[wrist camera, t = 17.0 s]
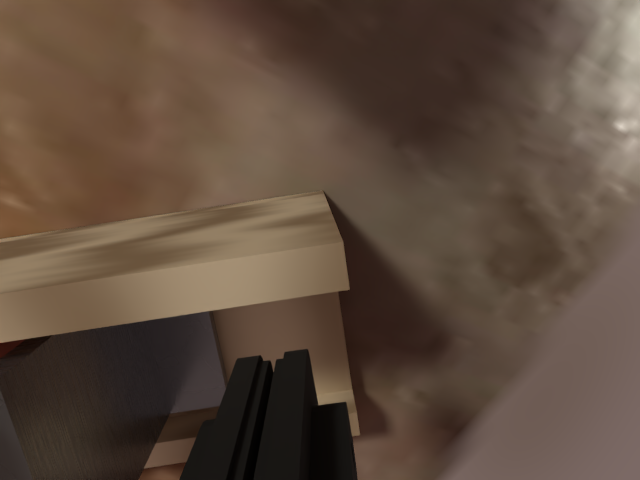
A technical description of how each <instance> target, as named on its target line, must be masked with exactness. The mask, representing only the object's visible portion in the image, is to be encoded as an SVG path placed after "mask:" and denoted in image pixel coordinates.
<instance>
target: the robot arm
mask: <svg viewBox="0 0 640 480" xmlns="http://www.w3.org/2000/svg"><path fill="white" fill-rule="evenodd" d="M180 480H357V471H356V462H355V454H354V447H353V440H352V433H351V426H350V420H349V414H348V408H347V403H346V402H339V403H332V404H324V405H318V400H317V394H316V388H315V383H314V377H313V372H312V366H311V360H310V355H309V351H308V349H302V350H294V351H287V352H284V357H283V358H282V359H276V363H275V368H274V372H273V367H272V363H271V361H270V360H267V361H263V358H262V356H261V355H258V356H251V357H244V358H238V359H237V360H236V362H235V365H234V368H233V370H232V373H231V376H230V379H229V382H228V384H227V387H226V390H225V393H224V396H223V398H222V401H221V404H220V407H219V409H218V412H217V415H216V418H215V419H211V420H206V421H204V422H203V423H202V425H201V427H200V429H199V432H198V434H197V437H196V439H195V442H194V444H193V447H192V449H191V452H190V454H189V457H188V460H187V462H186V465H185V467H184V470H183V472H182V475H181V477H180Z"/></svg>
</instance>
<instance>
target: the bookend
mask: <svg viewBox="0 0 640 480" xmlns="http://www.w3.org/2000/svg"><path fill="white" fill-rule="evenodd" d="M227 384H228V379H227V375H226V370H225V366H224V361H223V357H222V352H221V348H220V343H219V338H218V334H217V329H216V325H215V320H214V316H213V311H206V312H200V313H193V314H187V315H180V316H173V317H167V318H160V319H154V320H147V321H141V322H134V323H128V324H121V325H114V326H108V327H101V328H95V329H88V330H82V331H75V332H69V333H62V334H55V335H49V336H42V337H36V338H29V339H26V340H25V341H23V342H22V343H21V344H19V345H18V346H16V347H15V348H14V349H12V350H11V351H10V352H8V353H7V354H5V355H4V356H3V357H1V358H0V480H138V479H139V477H140V475H141V473H142V471H143V469H144V467H145V465H146V463H147V461H148V459H149V456H150V454H151V452H152V450H153V448H154V446H155V444H156V442H157V440H158V438H159V436H160V434H161V431H162V429H163V427H164V425H165V423H166V421H167V419H168V417H169V415H170V414H171V413H178V412H184V411H191V410H197V409H204V408H210V407H217V406H220V404H221V401H222V398H223V396H224V393H225V390H226V387H227Z"/></svg>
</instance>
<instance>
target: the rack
mask: <svg viewBox="0 0 640 480" xmlns="http://www.w3.org/2000/svg"><path fill="white" fill-rule="evenodd" d="M344 290H350V287H349V280H348V273H347V265H346V258H345V251H344V244H343V240H342V237H341V235H340V232H339V230H338V227H337V225H336V222H335V220H334V217H333V215H332V212H331V210H330V207H329V205H328V202H327V200H326V197H325V195H324V192H323V190H322V191H316V192H309V193H303V194H296V195H289V196H283V197H276V198H269V199H263V200H256V201H250V202H243V203H236V204H230V205H223V206H217V207H210V208H203V209H197V210H190V211H183V212H177V213H170V214H164V215H157V216H150V217H144V218H137V219H130V220H124V221H117V222H111V223H104V224H97V225H91V226H84V227H77V228H71V229H64V230H58V231H51V232H44V233H38V234H31V235H25V236H18V237H11V238H5V239H0V343H3V342H9V341H16V340H23V339H29V338H36V337H42V336H49V335H55V334H62V333H69V332H75V331H82V330H88V329H95V328H101V327H108V326H114V325H121V324H128V323H134V322H141V321H147V320H154V319H160V318H167V317H173V316H180V315H187V314H193V313H200V312H206V311H213V316H214V320H215V325H216V329H217V334H218V338H219V343H220V348H221V352H222V357H223V361H224V366H225V370H226V375H227V379H228V382H229V379H230V376H231V373H232V370H233V368H234V365H235V362H236V360H237V359H238V358H244V357H251V356H258V355H261V356H262V358H263V361H267V360H270V361H271V363H272V367H273V372H274V368H275V363H276V359H282V358H283V357H284V352H287V351H294V350H302V349H308V351H309V355H310V360H311V366H312V372H313V377H314V383H315V388H316V394H317V400H318V405H324V404H332V403H339V402H346V403H347V408H348V414H349V420H350V426H351V433H352V436H358V435H360V430H359V424H358V417H357V410H356V405H355V400H354V395H353V390H352V384H351V377H350V370H349V363H348V356H347V349H346V342H345V335H344V328H343V321H342V314H341V307H340V300H339V293H338V291H344ZM219 407H220V406H217V407H210V408H204V409H197V410H191V411H184V412H178V413H171V414H170V415H169V417H168V419H167V421H166V423H165V425H164V427H163V429H162V431H161V434H160V436H159V438H158V440H157V442H156V444H155V446H154V448H153V450H152V452H151V454H150V456H149V459H148V461H147V463H146V465H145V467H144V468H151V467H157V466H163V465H170V464H176V463H183V462H187V460H188V457H189V454H190V452H191V449H192V447H193V444H194V442H195V439H196V437H197V434H198V432H199V429H200V427H201V425H202V423H203V422H204V421H206V420H211V419H215V418H216V415H217V412H218V409H219Z"/></svg>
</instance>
